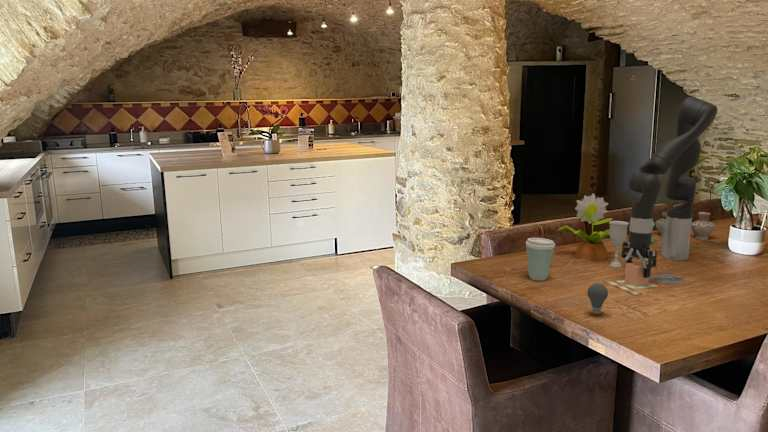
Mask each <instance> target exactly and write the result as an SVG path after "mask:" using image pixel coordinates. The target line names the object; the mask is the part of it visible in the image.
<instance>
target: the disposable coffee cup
mask: <svg viewBox="0 0 768 432" xmlns="http://www.w3.org/2000/svg"><path fill="white" fill-rule="evenodd" d="M525 245H526V246H525V248H526V259H527V268H528V269H527V270H528V276H529V279H530V280H534V281H546V280H547V278H548V277H549V273H550V268H551V265H552V259H553V255H554V252H555V247H556V243H555V242H554V240H553V239H548V238H543V237H528V238H527V240H526V241H525Z"/></svg>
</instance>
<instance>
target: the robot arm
mask: <svg viewBox="0 0 768 432" xmlns="http://www.w3.org/2000/svg"><path fill="white" fill-rule="evenodd" d="M717 113H718V107H717V106H716V104H713V103H711V102H708V101H706V100H703V99H701V98H697V97H694V96H688V97H686V98H685V99H684V100H683V101H682V103H681V105H680V107H679V109H678V113H677V124H676V134H675V135H676V136H675V137H674V138H671V139H669V140H668V141H666V142H664V143H663V144H661V145H660V146H659V147H658V148H657V149H656V150H655V152H654V153H653V154H652V156H651V157H650V158H649V160H647V161H646V162H644V163H643V164H642V165H641V166H640V167H638V168H637V169H636V170H634V172H633V173H631V175H630V177H629V179H628V187H629V189H630V190H631V191H632V192H634V193H635V192H636V193H638V194H642V195H641V198H640V199H635V200H633V201H632V203H631V209H630V210H631V213H630V219H629V225H628V227H629V228H628V241H624V242H623V243H622V245H621V246H622V248H621V255H620V256H621V258H622V259H624V260H625V264H624V265H625V266H624V268H625V269H626V263H632V262H634V261H633V260H634V259H635V258H636V259H639V260H640V261H639V262H641V263H643V265H644V267H645V268H644V271H643V278H649V277H650V276H651V272H652V271H651V270H652V268H657V258H658V257H657V256H658V251H657V250H656V249H650V246H651V244H652V243H653V242H652V238H653V230H654V227H653V222H654V221H653V220H654V207H655V204H656V202H657V199H658V197H659V194H660V191H661V188H662V182H661V180H660V177H659V175H664V174H666V173H667V172H668V171H669V172H668V175H667V179H666V182H665V188H664V195H665V197H666V198H667V199H668V200H672V201H684V202H683V203H681V204H679V205H677V206H672V207H669V208H668V209H667V211H666V212H667V220H666V231H665V233H664V234H663V236H662V245H661V256H662V257H663V258H665V259H666V260H671V261H673V260H674V261H686V260H688V259H689V251H690V244H691V243H690V242H691V233H692V232H691V231H692V227H691V224H692V223H693V209H694V203H695V197H696V190H697V181H696V179H695V178H694V177H685V176H684V177H683V175H685V174H686V173H688V172H689V171H691V170H692V169H693V168H694V167H695V166H696V165H698V163H699V160H700V157H701V152H702V145H701V141H700V139H699V137H700V136H701V135H703V133H704V132H705V131H706V130H707V129H708V128H709V127H710V126H711V125H712V124H713V122H714V120H715V118H716V117H717V115H718V114H717ZM649 279H650V278H649Z"/></svg>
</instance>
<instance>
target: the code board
mask: <svg viewBox="0 0 768 432" xmlns="http://www.w3.org/2000/svg"><path fill="white" fill-rule="evenodd" d="M649 279H652V280H654V281H656V282H659V283H662V284H664V285H667V286H668V285H675V284H680V283H681V284H682V283H688V282H689V283H690V281H689V280H686V279H684V278H681V277H678V276H676V275H673V274H671V273H667V272H666V273H662V274H654V275H650V277H649ZM602 282H603V283H605V284H607V285H609V286H611V287H614V288H616V289H619V290H621V291H622V292H625V293H628V294H629V295H631V296H636V297H637V296H641V295H643V293H640V292H638V291H636V290H643V289H649V288H655V287H656V288H657V287H658V285H656V284H654V283H652V282H649V285H645V286H638V287H635V286H633V285H630V284H628V283H626V282H625V279H619V280H615V281H613V280H611V279H609V278H607V279H603V280H602Z"/></svg>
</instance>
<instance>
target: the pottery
mask: <svg viewBox="0 0 768 432" xmlns="http://www.w3.org/2000/svg"><path fill="white" fill-rule="evenodd" d="M697 213H698V220H696V221H692V224H691V231H692V232H693V233H694V239H697V240H703V241H705V240H709V238H710V237H709V236H711V235H712V234H713V232H714V231H715V228H716V225H715V224H714V223H713V222H711V221H710V218H711V217H710V216H711V213H710V212H706V211H700V212H697ZM666 220H667V211H665V212H662V213H661V218H659V219H657V220H656V221H655V222H654V225H655V227H656V229H657V230H658V232H660V236H661V237H663V234H664V233H665V231H666Z"/></svg>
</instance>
